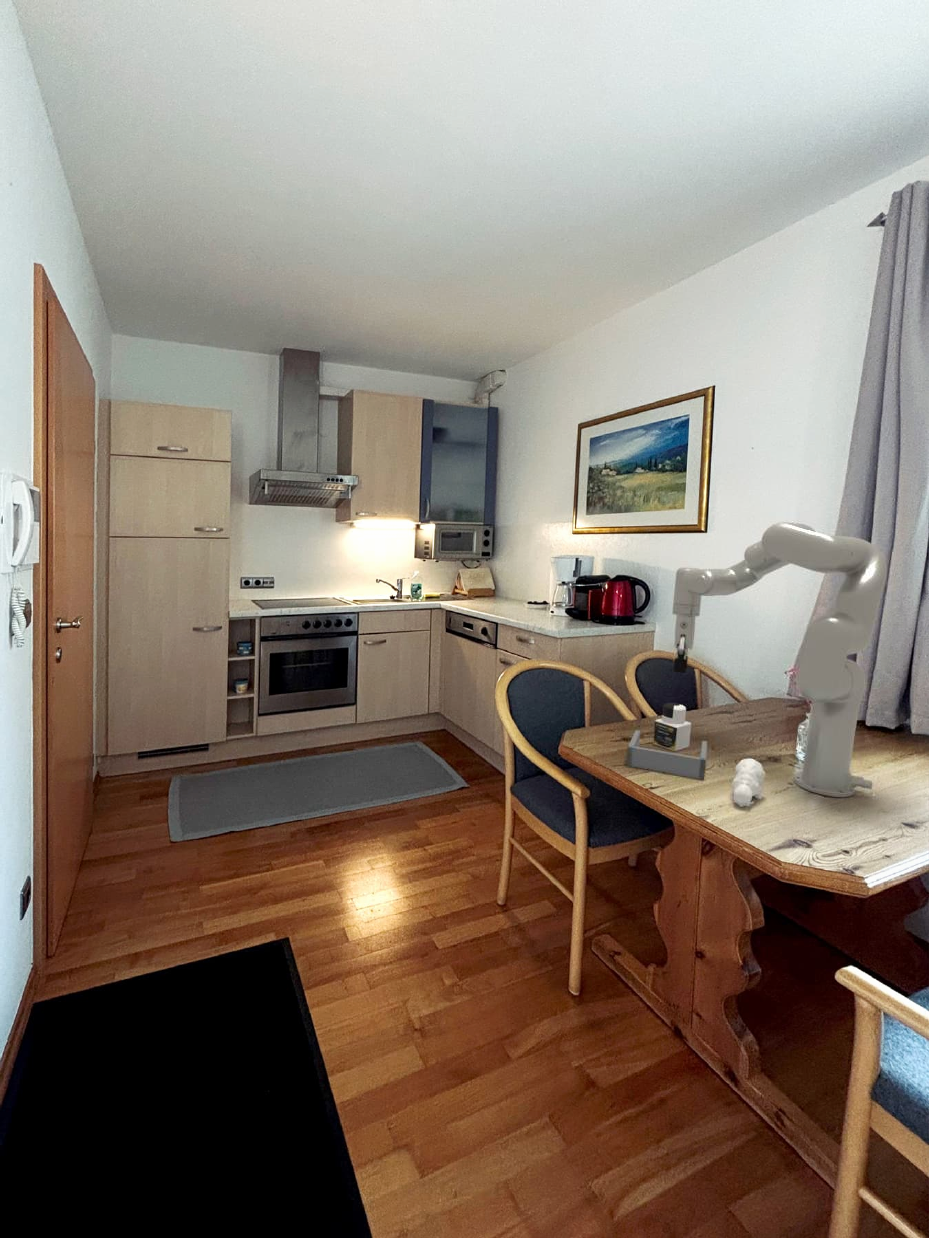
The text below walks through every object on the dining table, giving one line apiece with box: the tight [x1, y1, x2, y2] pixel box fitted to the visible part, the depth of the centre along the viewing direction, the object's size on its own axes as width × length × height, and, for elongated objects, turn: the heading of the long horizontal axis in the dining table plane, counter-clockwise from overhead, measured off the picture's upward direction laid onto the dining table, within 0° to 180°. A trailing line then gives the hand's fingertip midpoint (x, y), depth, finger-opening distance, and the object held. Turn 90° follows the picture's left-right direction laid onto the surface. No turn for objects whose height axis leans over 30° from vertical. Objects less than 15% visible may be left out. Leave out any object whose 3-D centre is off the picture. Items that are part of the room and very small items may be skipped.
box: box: [626, 729, 708, 781], centre depth 157 cm, size 18×15×5 cm
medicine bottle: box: [652, 702, 692, 752], centre depth 169 cm, size 7×7×12 cm
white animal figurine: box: [730, 758, 766, 808], centre depth 135 cm, size 6×8×12 cm
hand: (680, 669), depth 179 cm, fingers open, 5 cm apart
